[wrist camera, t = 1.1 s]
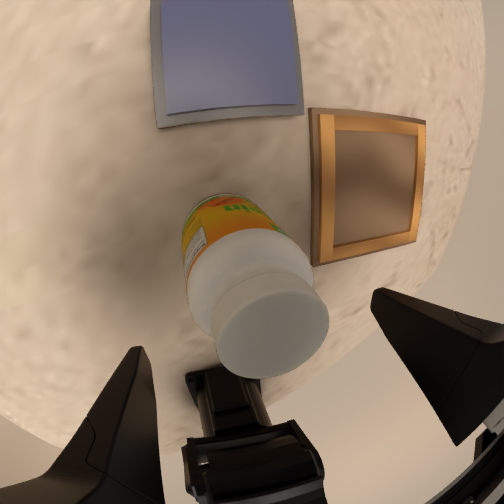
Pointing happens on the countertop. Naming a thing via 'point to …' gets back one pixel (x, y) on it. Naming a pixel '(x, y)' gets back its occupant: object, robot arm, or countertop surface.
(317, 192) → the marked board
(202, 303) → the supplement bottle
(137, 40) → the countertop surface
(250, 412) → the robot arm
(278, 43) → the ink pad
